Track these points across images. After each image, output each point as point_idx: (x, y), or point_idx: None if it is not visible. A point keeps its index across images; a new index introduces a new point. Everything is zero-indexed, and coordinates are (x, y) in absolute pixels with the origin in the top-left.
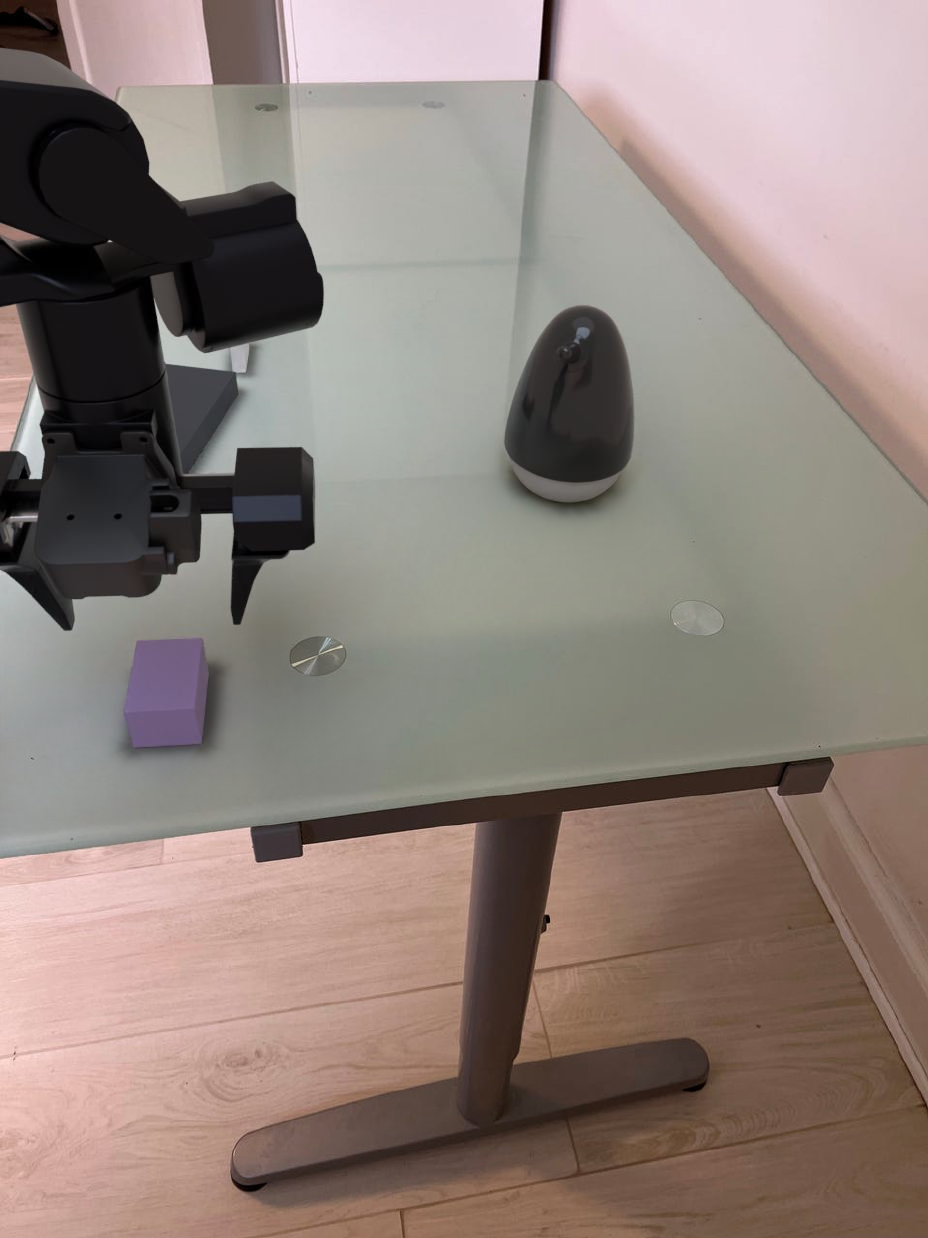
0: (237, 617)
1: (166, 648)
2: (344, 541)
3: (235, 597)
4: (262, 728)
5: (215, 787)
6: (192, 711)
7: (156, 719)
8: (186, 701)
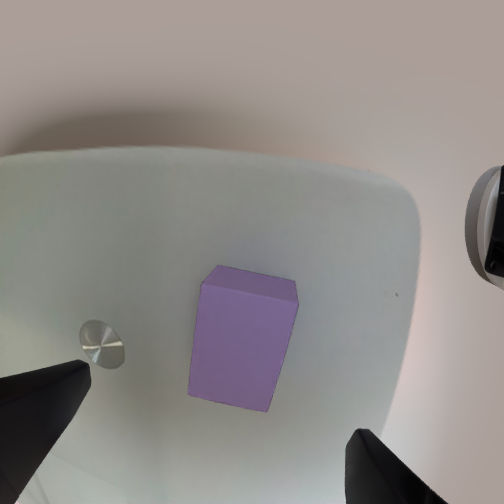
0: (69, 366)
1: (231, 392)
2: (95, 443)
3: (32, 385)
4: (151, 269)
5: (208, 196)
6: (205, 281)
7: (257, 288)
8: (210, 298)
